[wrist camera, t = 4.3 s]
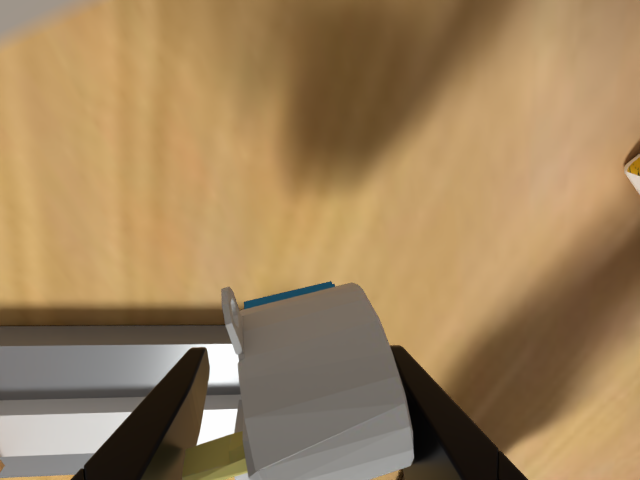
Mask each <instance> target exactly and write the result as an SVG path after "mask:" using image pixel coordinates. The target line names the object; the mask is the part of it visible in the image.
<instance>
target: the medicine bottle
mask: <svg viewBox="0 0 640 480" xmlns="http://www.w3.org/2000/svg"><path fill="white" fill-rule="evenodd" d="M624 172H625V174H626V176H627V177H628V178H629V180H630V181H631V183H632V184H633V186H634V187H635V189H636V190H637V192H638V193H639V195H640V154H638V155H637V156H636V157H634V158H633V159H632V160H631V161H629V162H628V163H627V164H626V165H625V168H624Z"/></svg>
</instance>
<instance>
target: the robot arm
mask: <svg viewBox="0 0 640 480" xmlns="http://www.w3.org/2000/svg"><path fill="white" fill-rule="evenodd" d="M390 348H391V350H392V353H393V356H394V359H395V363H396V366H397V369H398V372H399V375H400V379H401V382H402V385H403V388H404V391H405V395H406V400H407V405H408V409H409V414H410V419H411V424H412V429H413V443H414V459H413V461H412V464H411V466H409V467H406V468H403V472H404V476H403V478H402V480H528V479H527V478H526V477H525V476H524V475H523V474H522V473H521V472H520V471H519V470H518V469H517V468H516V467H515V466H514V464H513V463H512V462H511V461H510V460H509V459H508V458H507V457H506V456H505V455H504V454H503V453H502V452H501V451H498V448H497V447H496V446H495V444H494V443H493V442H492V441H491V440H490V439H489V438H488V437H487V436H486V435H485V434H484V433H483V432H482V431H481V430H480V429H479V428H478V426H477V425H476V424H475V423H474V422H473V421H472V420H471V419H470V418H469V417H468V416H467V415H466V414H465V413H464V412H463V411H462V409H461V408H460V407H459V406H458V405H457V404H456V403H455V402H454V401H453V400H452V399H451V398H450V397H449V396H448V395H447V394H446V392H445V391H444V390H443V389H442V388H441V387H440V386H439V385H438V384H437V383H436V382H435V381H434V380H433V379H432V378H431V377H430V375H429V374H428V373H427V372H426V371H425V370H424V369H423V368H422V367H421V366H420V365H419V364H418V363H417V362H416V361H415V360H414V359H413V357H412V356H411V355H410V354H409V353H408V352H407V351H406V350H405V349H404V348H403V347H402V346H400V345H390ZM209 375H210V365H209V358H208V351H207V349H206V348H205V347H192V348H190V349H189V350H188V351H187V352H186V353H185V354H184V355H183V357H182V358H181V359H180V360H179V361H178V362H177V363H176V364H175V365H174V366H173V368H172V369H171V370H170V371H169V372H168V373H167V374H166V375H165V376H164V377H163V379H162V380H161V381H160V382H159V383H158V384H157V385H156V386H155V387H154V388H153V390H152V391H151V392H150V393H149V394H148V395H147V396H146V397H145V398H144V400H143V401H142V402H141V403H140V404H139V405H138V406H137V407H136V408H135V409H134V411H133V412H132V413H131V414H130V415H129V416H128V417H127V418H126V419H125V420H124V422H123V423H122V424H121V425H120V426H119V427H118V428H117V429H116V430H115V431H114V433H113V434H112V435H111V436H110V437H109V438H108V439H107V440H106V441H105V443H104V444H103V445H102V446H101V447H100V448H99V449H98V450H97V451H96V452H95V454H94V455H93V456H92V457H91V458H90V459H89V460H88V461H87V462H86V463H85V465H84V469H83V468H81V469H80V470H79V471H78V472H77V473H76V474H75V475H74V476H73V478H72V479H71V480H183V479H182V473H183V466H184V458H185V451H186V449H188V448H191V447H194V446H196V445H197V441H198V437H199V433H200V428H201V423H202V417H203V411H204V405H205V399H206V393H207V387H208V381H209Z"/></svg>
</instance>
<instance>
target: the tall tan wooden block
mask: <svg viewBox="0 0 640 480" xmlns="http://www.w3.org/2000/svg"><path fill="white" fill-rule="evenodd" d="M4 466H5V465H4V464H3V462H2V461H1V460H0V472H1V471H2V469H3V468H4Z"/></svg>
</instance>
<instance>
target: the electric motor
mask: <svg viewBox="0 0 640 480" xmlns="http://www.w3.org/2000/svg"><path fill="white" fill-rule="evenodd" d="M222 309H223V314H224V320H225V325H226V328H227V331H228V334H229V337H230V340H231V342H232V345H233V348H234V351H235V354H237V355H238V358H239V363H238V375H239V385H240V392H241V399H242V406H243V413H244V415H243V431H241V432H237V433H233V434H230V435H227V436H224V437H221V438H218V439H215V440H212V441H209V442H206V443H203V444H200V445H197V446H194V447H191V448H188V449H186V451H185V458H184V466H183V473H182V479H183V480H225V479H228V478H232V477H235V476H239V475H242V474H245V473H248V477H249V480H370V479H373V478H376V477H379V476H382V475H385V474H388V473H391V472H394V471H397V470H400V469H403V468H406V467H409V466H411V464H412V461H413V459H414V443H413V429H412V424H411V419H410V414H409V409H408V405H407V400H406V395H405V391H404V388H403V385H402V382H401V379H400V375H399V372H398V369H397V366H396V363H395V359H394V356H393V353H392V350H391V348H390V345H389V342H388V340H387V337H386V335H385V332H384V329H383V327H382V324H381V322H380V319H379V317H378V316H377V314H376V312H375V310H374V309H373V307H372V305H371V303H370V301H369V300H368V298H367V296H366V294H365V293H364V291H363V289H362V288H361V287H360V286H358V285H357V284H354V283H348V284H344V285H340V286H336V287H335V285H334V284H332V282H331V281H330V282H326V283H322V284H318V285H313V286H309V287H305V288H301V289H297V290H292V291H288V292H284V293H280V294H275V295H271V296H267V297H263V298H259V299H254V300H250V301H246V302H244V310H240V311H239V308H238V305H237V302H236V299H235V296H234V293H233V291H232V290H231V288H230V287H226V288H223V289H222Z"/></svg>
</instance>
